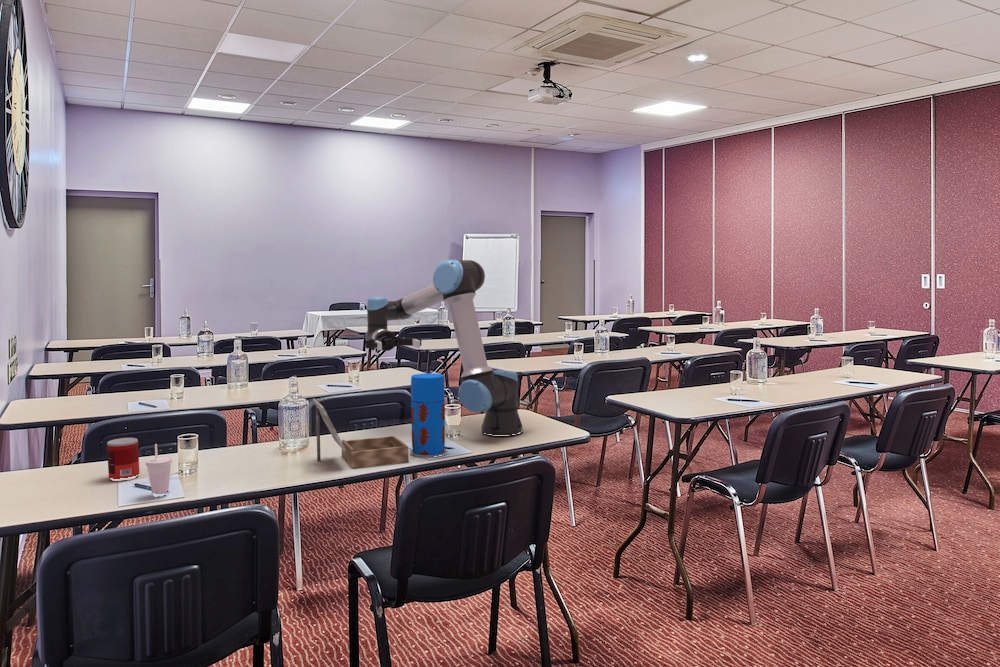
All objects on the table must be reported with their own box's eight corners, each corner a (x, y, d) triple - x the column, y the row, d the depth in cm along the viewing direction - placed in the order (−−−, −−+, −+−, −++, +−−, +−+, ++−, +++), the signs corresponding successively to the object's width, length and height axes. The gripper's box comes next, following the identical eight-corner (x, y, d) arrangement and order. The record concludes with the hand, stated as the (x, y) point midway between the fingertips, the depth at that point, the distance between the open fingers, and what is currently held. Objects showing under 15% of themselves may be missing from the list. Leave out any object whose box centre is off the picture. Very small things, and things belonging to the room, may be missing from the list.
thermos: (439, 456, 225) (438, 378, 223) (407, 454, 227) (406, 377, 225) (448, 448, 236) (448, 373, 234) (418, 446, 238) (417, 372, 236)
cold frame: (394, 450, 235) (393, 392, 233) (408, 462, 221) (407, 400, 219) (314, 459, 224) (312, 398, 223) (323, 472, 210) (321, 407, 208)
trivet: (439, 447, 239) (439, 445, 239) (452, 455, 229) (452, 453, 228) (405, 450, 235) (405, 449, 235) (416, 459, 224) (416, 457, 224)
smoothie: (145, 494, 189) (142, 443, 188) (171, 490, 193) (168, 439, 192) (149, 500, 184) (146, 448, 183) (175, 496, 188) (173, 444, 187)
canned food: (145, 474, 208) (143, 438, 207) (126, 482, 200) (124, 444, 199) (122, 473, 209) (121, 436, 208) (102, 481, 201) (100, 443, 200)
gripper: (416, 348, 268) (434, 354, 248) (350, 351, 258) (364, 358, 238) (416, 328, 267) (434, 333, 248) (350, 331, 257) (364, 335, 238)
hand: (400, 345), depth 243 cm, fingers open, 13 cm apart
